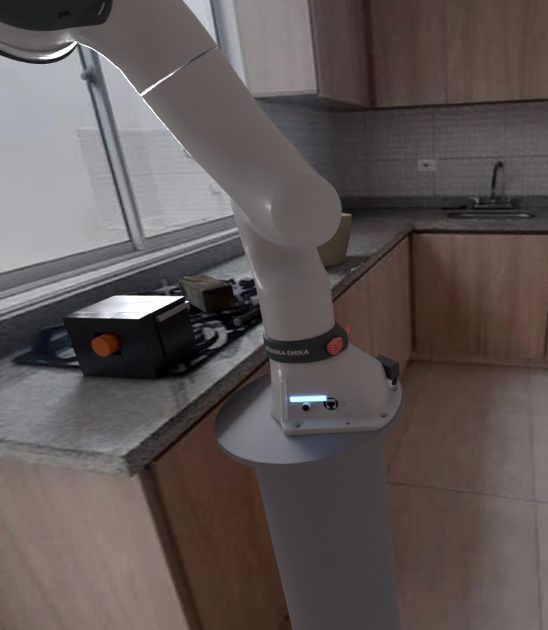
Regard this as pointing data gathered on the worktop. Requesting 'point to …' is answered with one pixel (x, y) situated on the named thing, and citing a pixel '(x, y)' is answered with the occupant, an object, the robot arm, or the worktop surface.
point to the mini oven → (133, 335)
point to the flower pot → (336, 244)
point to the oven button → (105, 344)
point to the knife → (247, 316)
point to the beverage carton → (207, 293)
